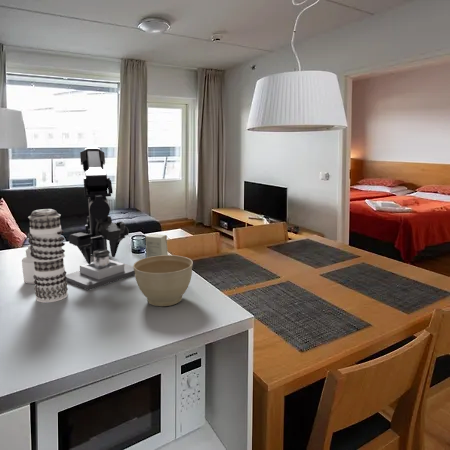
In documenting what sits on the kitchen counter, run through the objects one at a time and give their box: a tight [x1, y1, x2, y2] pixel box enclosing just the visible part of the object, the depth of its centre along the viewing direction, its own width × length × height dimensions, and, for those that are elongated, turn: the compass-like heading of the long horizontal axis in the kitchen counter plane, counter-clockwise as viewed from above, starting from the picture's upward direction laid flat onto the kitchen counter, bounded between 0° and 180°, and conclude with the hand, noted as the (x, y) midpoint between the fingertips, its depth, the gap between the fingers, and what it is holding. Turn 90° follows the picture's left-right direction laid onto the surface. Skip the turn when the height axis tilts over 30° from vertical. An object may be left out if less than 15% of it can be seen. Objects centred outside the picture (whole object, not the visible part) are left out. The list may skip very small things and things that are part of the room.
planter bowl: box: [132, 254, 194, 307], centre depth 105 cm, size 16×16×11 cm
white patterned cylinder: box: [27, 208, 69, 304], centre depth 105 cm, size 9×9×25 cm
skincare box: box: [145, 233, 169, 258], centre depth 130 cm, size 6×4×12 cm
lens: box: [92, 249, 110, 270], centre depth 123 cm, size 5×5×7 cm
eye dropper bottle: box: [21, 244, 35, 285], centre depth 117 cm, size 4×6×12 cm
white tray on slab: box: [65, 259, 135, 291], centre depth 124 cm, size 20×14×4 cm
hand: (101, 260), depth 123 cm, fingers open, 9 cm apart
